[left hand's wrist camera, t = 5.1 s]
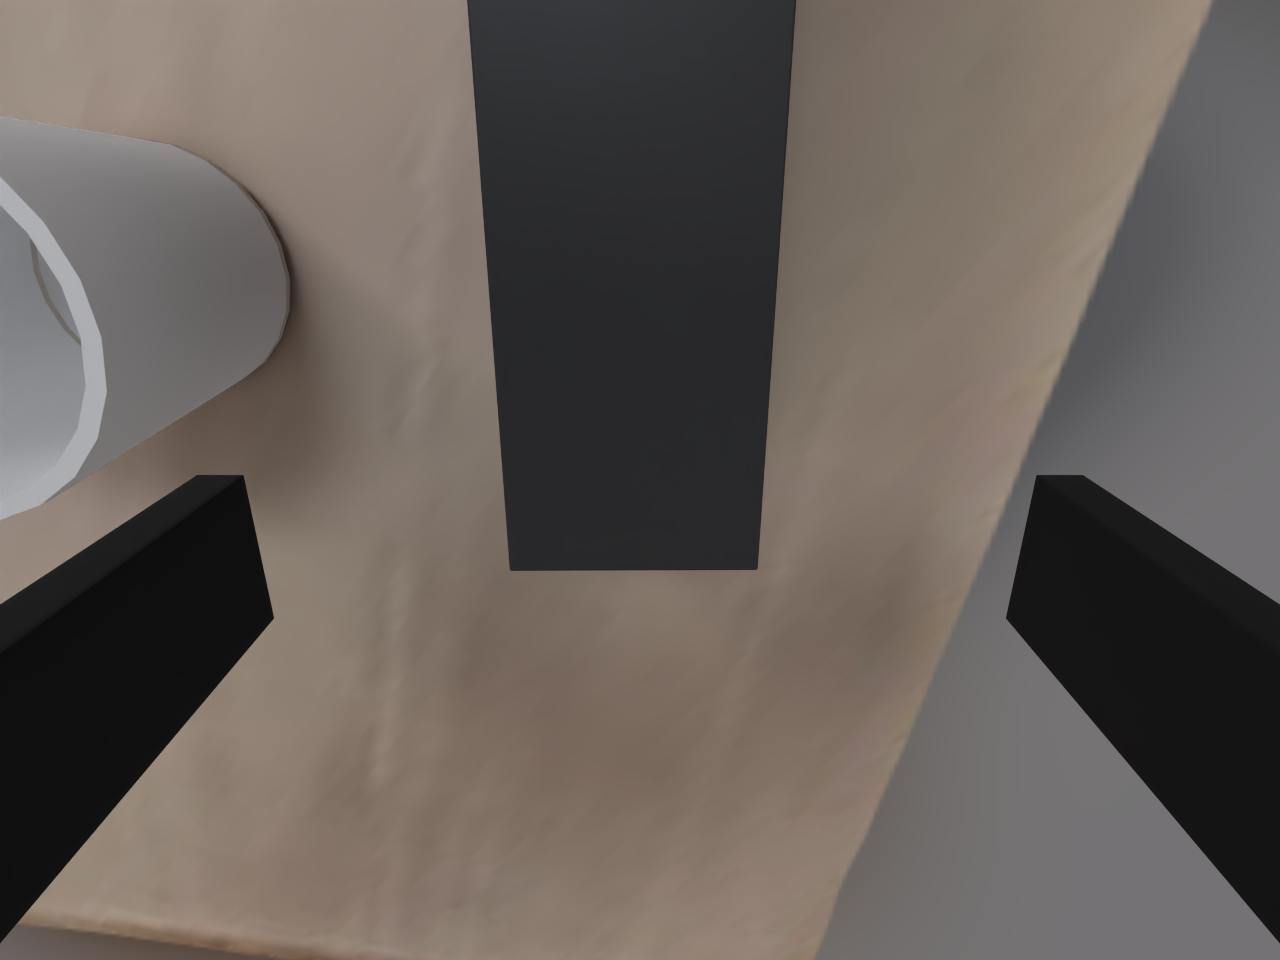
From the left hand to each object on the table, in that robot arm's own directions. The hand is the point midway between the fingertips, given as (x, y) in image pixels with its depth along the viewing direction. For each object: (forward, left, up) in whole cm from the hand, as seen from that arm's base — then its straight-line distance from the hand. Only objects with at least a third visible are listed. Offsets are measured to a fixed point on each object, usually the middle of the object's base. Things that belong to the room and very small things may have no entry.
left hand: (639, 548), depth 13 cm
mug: (-6, +16, -15) cm, 22 cm away
